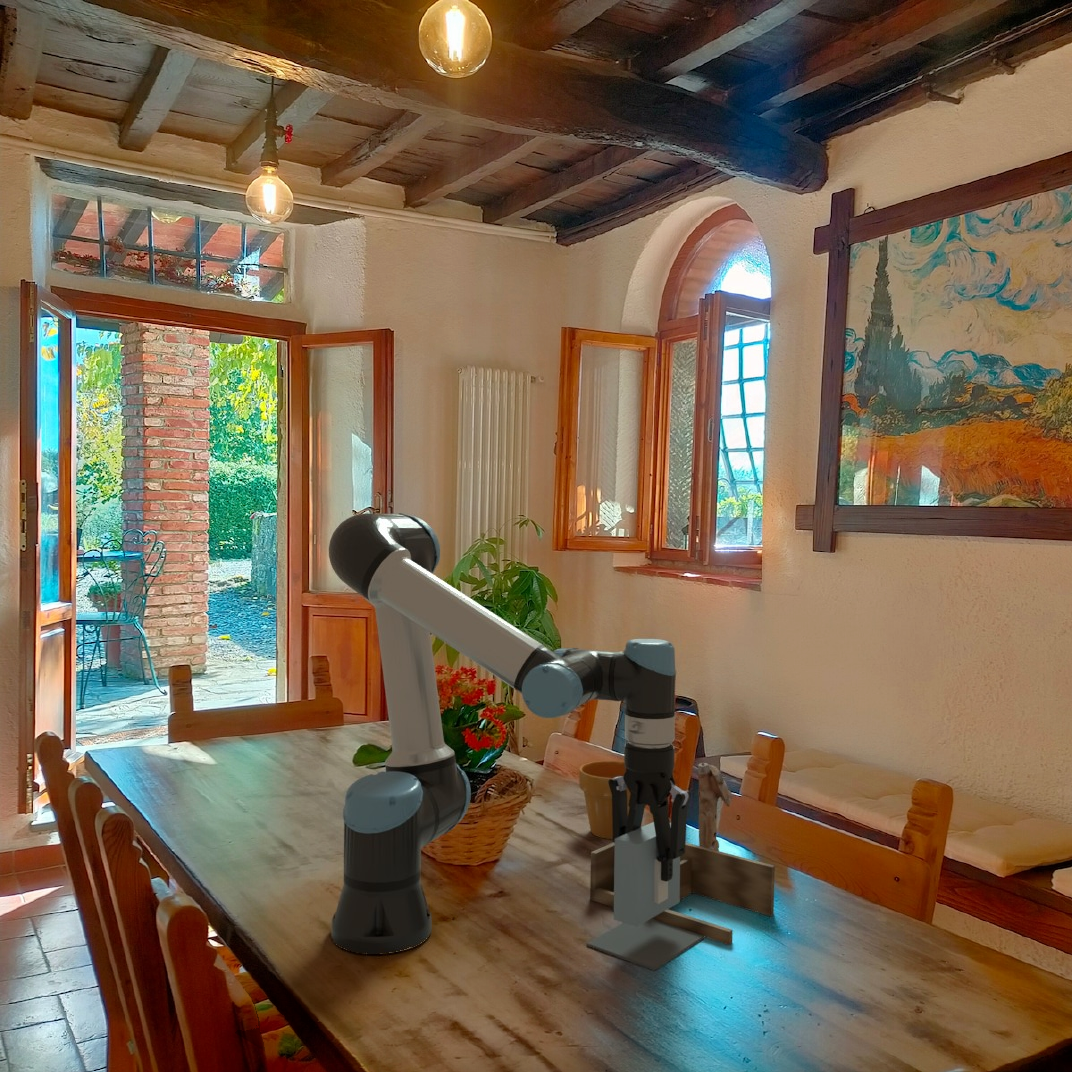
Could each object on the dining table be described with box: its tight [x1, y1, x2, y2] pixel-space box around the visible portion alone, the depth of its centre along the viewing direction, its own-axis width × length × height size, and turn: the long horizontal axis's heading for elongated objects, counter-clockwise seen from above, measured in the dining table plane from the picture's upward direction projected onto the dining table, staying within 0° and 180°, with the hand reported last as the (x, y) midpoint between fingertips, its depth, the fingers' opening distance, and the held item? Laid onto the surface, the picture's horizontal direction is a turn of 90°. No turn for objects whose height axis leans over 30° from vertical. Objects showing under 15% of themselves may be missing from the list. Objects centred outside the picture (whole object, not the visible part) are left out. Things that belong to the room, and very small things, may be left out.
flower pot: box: [578, 760, 631, 840], centre depth 197 cm, size 14×14×13 cm
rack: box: [589, 841, 776, 946], centre depth 160 cm, size 26×15×8 cm, turn 50°
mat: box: [586, 919, 705, 971], centre depth 147 cm, size 12×14×1 cm
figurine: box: [697, 762, 733, 851], centre depth 176 cm, size 10×8×20 cm
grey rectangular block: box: [613, 821, 680, 927], centre depth 146 cm, size 4×12×12 cm, turn 141°
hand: (647, 896), depth 146 cm, fingers closed on grey rectangular block, 4 cm apart
